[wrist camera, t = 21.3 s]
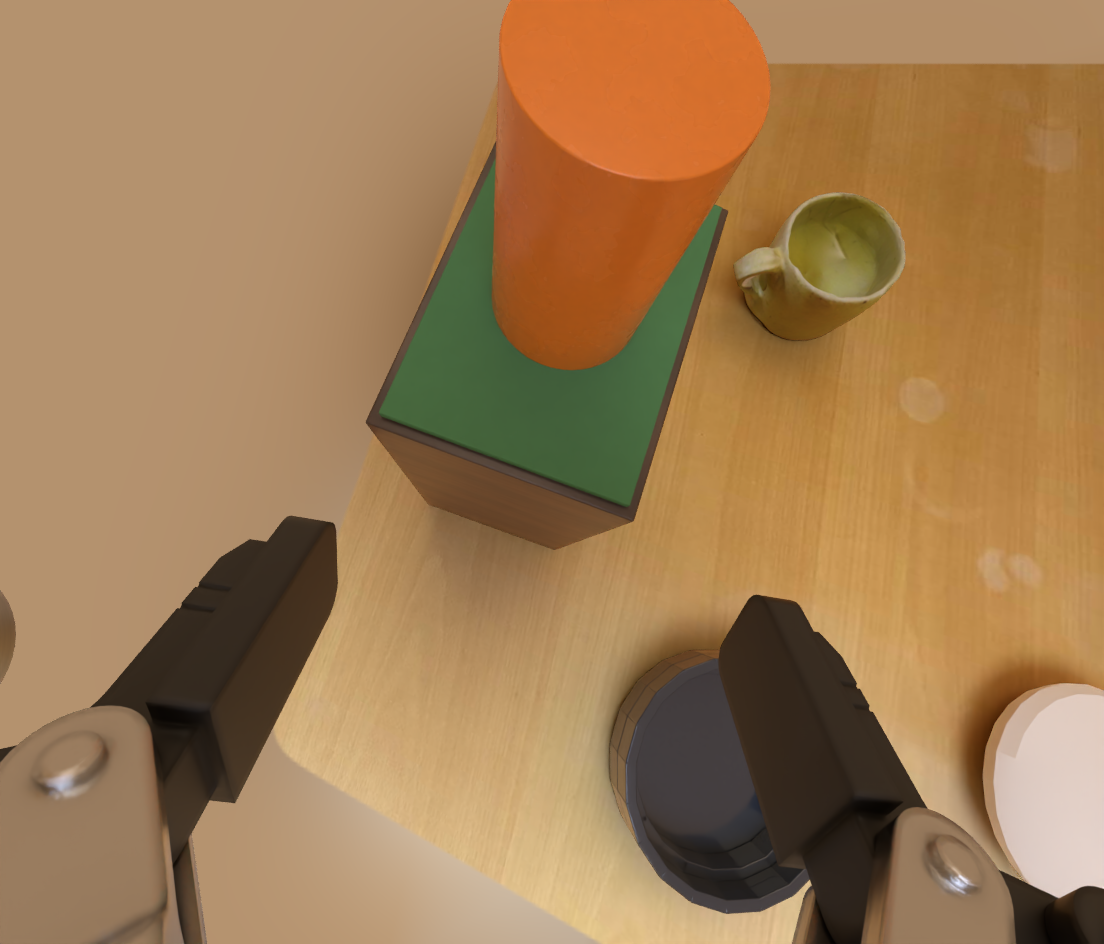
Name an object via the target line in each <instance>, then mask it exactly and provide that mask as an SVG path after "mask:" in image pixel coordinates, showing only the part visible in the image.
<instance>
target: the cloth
mask: <svg viewBox="0 0 1104 944" xmlns="http://www.w3.org/2000/svg"><path fill="white" fill-rule="evenodd" d="M495 166H496V158H495V160H494V162H493V165H492V167H491V169H490V171H489V173H488V175H487V178H486V180H485V182H484V184H483V186H482V189H481V191H480V193H479V195H478V197H477V199H476V202H475V204H474V206H473V208H472V210H471V212H470V215H469V217H468V219H467V221H466V223H465V226H464V228H463V230H462V232H461V234H460V236H459V239H458V241H457V243H456V245H455V247H454V249H453V252H452V254H451V256H450V258H449V260H448V263H447V265H446V267H445V269H444V271H443V273H442V276H441V278H440V280H439V282H438V284H437V286H436V289H435V291H434V293H433V295H432V297H431V300H430V302H429V304H428V306H427V308H426V310H425V313H424V315H423V317H422V319H421V321H420V323H419V326H418V328H417V330H416V332H415V334H414V337H413V339H412V341H411V343H410V345H409V347H408V350H407V352H406V354H405V356H404V358H403V360H402V363H401V365H400V367H399V369H398V371H397V374H396V376H395V378H394V380H393V382H392V384H391V387H390V389H389V391H388V393H387V395H386V397H385V400H384V402H383V404H382V406H381V408H380V411H379V414H380V415H381V416H382V417H384V418H387V419H390V420H392V421H395V422H398V423H401V424H403V425H406V426H409V427H411V428H414V429H417V430H419V431H422V432H425V433H428V434H430V435H433V436H436V437H438V438H441V439H444V440H446V441H449V442H452V443H455V444H457V445H460V446H463V447H465V448H468V449H471V450H473V451H476V452H479V453H482V454H484V455H487V456H490V457H492V458H495V459H498V460H500V461H503V462H506V463H509V464H511V465H514V466H517V467H519V468H522V469H525V470H527V471H530V472H533V473H536V474H538V475H541V476H544V477H546V478H549V479H552V480H554V481H557V482H560V483H563V484H565V485H568V486H571V487H573V488H576V489H579V490H581V491H584V492H587V493H590V494H592V495H595V496H598V497H600V498H603V499H606V500H609V501H611V502H614V503H617V504H619V505H622V506H625V507H628V506H630V504H631V500H632V497H633V494H634V491H635V487H636V484H637V481H638V478H639V474H640V471H641V468H642V465H643V462H644V458H645V455H646V452H647V449H648V445H649V442H650V439H651V436H652V433H653V429H654V426H655V423H656V420H657V416H658V413H659V410H660V407H661V403H662V400H663V397H664V394H665V391H666V387H667V384H668V381H669V378H670V374H671V371H672V368H673V365H674V362H675V358H676V355H677V352H678V349H679V345H680V342H681V339H682V336H683V332H684V329H685V326H686V323H687V320H688V316H689V313H690V310H691V307H692V303H693V300H694V297H695V294H696V290H697V287H698V284H699V281H700V278H701V274H702V271H703V268H704V265H705V261H706V258H707V255H708V252H709V249H710V245H711V242H712V239H713V236H714V232H715V229H716V226H717V223H718V219H719V216H720V213H721V210H722V208H721V207H719V206H717V205H714V206H713V208H712V209H711V211H710V212H709V214H708V216H707V217H706V219H705V220H704V222H703V224H702V225H701V227H700V228H699V230H698V232H697V233H696V235H695V236H694V238H693V240H692V241H691V243H690V244H689V246H688V248H687V249H686V251H685V253H684V254H683V256H682V257H681V259H680V261H679V262H678V264H677V265H676V267H675V269H674V270H673V272H672V273H671V275H670V277H669V278H668V280H667V281H666V283H665V285H664V286H663V288H662V289H661V291H660V293H659V294H658V296H657V298H656V299H655V301H654V302H653V304H652V306H651V307H650V309H649V310H648V312H647V314H646V315H645V317H644V318H643V320H642V322H641V323H640V325H639V326H638V328H637V330H636V331H635V333H634V334H633V336H632V338H631V339H630V341H629V342H628V344H627V345H626V346H625V347H624V349H623V350H622V351H621V352H619V353H618V354H617V355H616V356H615V357H613V358H612V359H610V360H609V361H607V362H605V363H603V364H601V365H598V366H595V367H592V368H587V369H582V370H561V369H556V368H551V367H548V366H545V365H542V364H540V363H537V362H535V361H533V360H531V359H530V358H528V357H526V356H525V355H523V354H522V353H521V352H520V351H518V350H517V349H516V348H515V347H514V346H513V345H512V344H511V343H510V342H509V341H508V339H507V338H506V337H505V335H504V334H503V332H502V331H501V329H500V327H499V326H498V323H497V321H496V318H495V315H494V311H493V307H492V265H493V232H494V199H495Z"/></svg>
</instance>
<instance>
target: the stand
mask: <svg viewBox="0 0 1104 944" xmlns="http://www.w3.org/2000/svg"><path fill="white" fill-rule="evenodd" d="M495 158H496V142H495V144H494V146H493V149H492V151H491V153H490V155H489V157H488V159H487V162H486V164H485V166H484V168H483V170H482V172H481V174H480V177H479V179H478V181H477V183H476V185H475V187H474V190H473V192H472V194H471V196H470V198H469V200H468V202H467V205H466V207H465V209H464V211H463V213H462V215H461V218H460V220H459V222H458V224H457V226H456V228H455V230H454V233H453V235H452V237H451V239H450V241H449V243H448V246H447V248H446V250H445V252H444V254H443V256H442V258H441V261H440V263H439V265H438V267H437V269H436V271H435V274H434V276H433V278H432V280H431V282H430V284H429V286H428V289H427V291H426V293H425V295H424V297H423V299H422V302H421V304H420V306H419V308H418V310H417V312H416V315H415V317H414V319H413V321H412V323H411V325H410V327H409V330H408V332H407V334H406V336H405V339H404V341H403V343H402V345H401V347H400V349H399V351H398V353H397V355H396V358H395V360H394V362H393V364H392V367H391V369H390V371H389V373H388V375H387V377H386V379H385V382H384V384H383V386H382V388H381V390H380V392H379V394H378V396H377V399H376V401H375V403H374V405H373V407H372V410H371V411H370V414H369V416H368V418H367V420H366V424H367V425H368V426H369V427H370V429H371V430H372V431H373V433H374V434H375V435H376V437H377V438H378V439H379V441H380V442H381V443H382V445H383V446H384V447H385V448H386V450H387V451H388V452H389V454H390V455H391V456H392V458H393V459H394V460H395V462H396V463H397V464H398V465H399V467H400V468H401V469H402V471H403V472H404V473H405V475H406V476H407V477H408V479H409V480H410V481H411V482H412V484H413V485H414V486H415V488H416V489H417V490H418V492H419V493H420V494H421V496H422V497H423V498H424V499H425V501H426V502H427V503H428V504H429V505H432V506H434V507H437V508H440V509H443V510H446V511H448V512H451V513H454V514H457V515H459V516H462V517H465V518H468V519H470V520H473V521H476V522H479V523H481V524H484V525H487V526H490V527H493V528H495V529H498V530H501V531H504V532H506V533H509V534H512V535H515V536H517V537H520V538H523V539H526V540H528V541H531V542H534V543H537V544H540V545H542V546H545V547H548V548H551V549H553V550H556V549H559V548H561V547H564V546H567V545H570V544H572V543H575V542H578V541H581V540H583V539H586V538H589V537H592V536H594V535H597V534H600V533H603V532H605V531H608V530H611V529H613V528H616V527H619V526H622V525H624V524H627V523H630V522H633V521H634V519H635V515H636V512H637V509H638V505H639V502H640V499H641V496H642V492H643V489H644V486H645V483H646V479H647V476H648V473H649V469H650V466H651V463H652V460H653V456H654V453H655V450H656V447H657V443H658V440H659V437H660V433H661V430H662V427H663V424H664V420H665V417H666V414H667V411H668V407H669V404H670V401H671V397H672V394H673V391H674V388H675V384H676V381H677V378H678V374H679V371H680V368H681V365H682V361H683V358H684V355H685V352H686V348H687V345H688V342H689V338H690V335H691V332H692V329H693V325H694V322H695V319H696V316H697V312H698V309H699V306H700V302H701V299H702V296H703V293H704V289H705V286H706V283H707V280H708V276H709V273H710V270H711V266H712V263H713V260H714V257H715V253H716V250H717V247H718V244H719V240H720V237H721V234H722V230H723V227H724V224H725V221H726V217H727V214H728V211H727V210H725V209H723V208H722V210H721V213H720V216H719V219H718V223H717V226H716V229H715V232H714V236H713V239H712V242H711V245H710V249H709V252H708V255H707V258H706V261H705V265H704V268H703V271H702V274H701V278H700V281H699V284H698V287H697V290H696V294H695V297H694V300H693V303H692V307H691V310H690V313H689V316H688V320H687V323H686V326H685V329H684V332H683V336H682V339H681V342H680V345H679V349H678V352H677V355H676V358H675V362H674V365H673V368H672V371H671V374H670V378H669V381H668V384H667V387H666V391H665V394H664V397H663V400H662V403H661V407H660V410H659V413H658V416H657V420H656V423H655V426H654V429H653V433H652V436H651V439H650V442H649V445H648V449H647V452H646V455H645V458H644V462H643V465H642V468H641V471H640V474H639V478H638V481H637V484H636V487H635V491H634V494H633V497H632V500H631V504H630V506H628V507H625V506H622V505H619V504H617V503H614V502H611V501H609V500H606V499H603V498H600V497H598V496H595V495H592V494H590V493H587V492H584V491H581V490H579V489H576V488H573V487H571V486H568V485H565V484H563V483H560V482H557V481H554V480H552V479H549V478H546V477H544V476H541V475H538V474H536V473H533V472H530V471H527V470H525V469H522V468H519V467H517V466H514V465H511V464H509V463H506V462H503V461H500V460H498V459H495V458H492V457H490V456H487V455H484V454H482V453H479V452H476V451H473V450H471V449H468V448H465V447H463V446H460V445H457V444H455V443H452V442H449V441H446V440H444V439H441V438H438V437H436V436H433V435H430V434H428V433H425V432H422V431H419V430H417V429H414V428H411V427H409V426H406V425H403V424H401V423H398V422H395V421H392V420H390V419H387V418H384V417H382V416H381V415H380V414H379V411H380V408H381V406H382V404H383V402H384V400H385V397H386V395H387V393H388V391H389V389H390V387H391V384H392V382H393V380H394V378H395V376H396V374H397V371H398V369H399V367H400V365H401V363H402V360H403V358H404V356H405V354H406V352H407V350H408V347H409V345H410V343H411V341H412V339H413V337H414V334H415V332H416V330H417V328H418V326H419V323H420V321H421V319H422V317H423V315H424V313H425V310H426V308H427V306H428V304H429V302H430V300H431V297H432V295H433V293H434V291H435V289H436V286H437V284H438V282H439V280H440V278H441V276H442V273H443V271H444V269H445V267H446V265H447V263H448V260H449V258H450V256H451V254H452V252H453V249H454V247H455V245H456V243H457V241H458V239H459V236H460V234H461V232H462V230H463V228H464V226H465V223H466V221H467V219H468V217H469V215H470V212H471V210H472V208H473V206H474V204H475V202H476V199H477V197H478V195H479V193H480V191H481V189H482V186H483V184H484V182H485V180H486V178H487V175H488V173H489V171H490V169H491V167H492V165H493V162H494V160H495Z"/></svg>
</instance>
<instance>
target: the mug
mask: <svg viewBox="0 0 1104 944" xmlns="http://www.w3.org/2000/svg"><path fill="white" fill-rule="evenodd" d="M904 266H905V246H904V241H903V238H902V236H901V229H900V228H899V226H898V225H897V223H896V222H895V221H894V220H893V219H892V217H891V215H890V214H889V213H888V212H887V211H886V210H885V209H884V208H883V207H881V206H880V205H878V204H877V203H875V202H873V201H871V200H869V199H867V198H865V197H863V196H859V195H856V194H850V193H840V192H836V193H827V194H823V195H819V196H815V197H813V198H811V199H809V200H807V201H805V202H804V203H802V204H801V205H800V206H799V207H798V208H797V209H796V210H795V211H794V212H793V213H792V214H791V215H790V216H789V217H788V218H787V220H786V221H785V223H784V224H783V225H782V227H781V228H780V230H779V231H778V233H777V234H776V236H775V238H774V240H773V241H772V243H771V245H770V247H762V248H758V249H755V250H753V251H752V252H750V253H748V254H746V255H745V256H743V257H742V258H740V259H739V260H737V261H736V262H735V263H734V265H733V267H734V272H735V276H736V280H737V284H738V286H739V287H740V288H741V290H742V291H744V294H745V298H746V302H747V305H748V307H749V308H750V310H751V311H752V312H753V313H754V315H755V316H756V317H757V318H758V319H759V320H760V321H762V322H763V324H764V325H765V326H766V328H767V329H768V330H769V331H771V332H772V333H773V334H775V335H777V336H779V337H781V338H784V339H789V340H810V339H814V338H818V337H821V336H823V335H825V334H827V333H828V332H830V331H832V330H834V329H836V328H837V327H839V326H841V325H843V324H844V323H846V322H848V321H850V320H851V319H853V318H855V317H856V316H858V315H859V314H861V313H862V312H864V311H865V310H866V309H868V308H869V307H871V306H872V305H873V304H875V303H876V302H877V301H878V300H879V299H880V298H881V297H882V296H883V295H884V294H885V293H886V292H887V291H888V290H889V289H890V288H891V286H892V285H893V284H894V283H895V282H896V281H897V280H898V278H899V277H900V274H901V273H902V271H903V268H904Z"/></svg>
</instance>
